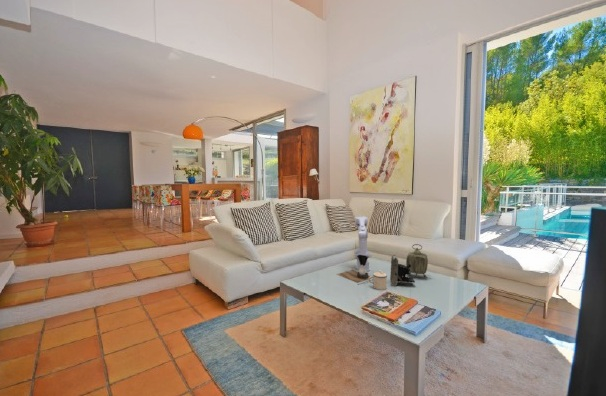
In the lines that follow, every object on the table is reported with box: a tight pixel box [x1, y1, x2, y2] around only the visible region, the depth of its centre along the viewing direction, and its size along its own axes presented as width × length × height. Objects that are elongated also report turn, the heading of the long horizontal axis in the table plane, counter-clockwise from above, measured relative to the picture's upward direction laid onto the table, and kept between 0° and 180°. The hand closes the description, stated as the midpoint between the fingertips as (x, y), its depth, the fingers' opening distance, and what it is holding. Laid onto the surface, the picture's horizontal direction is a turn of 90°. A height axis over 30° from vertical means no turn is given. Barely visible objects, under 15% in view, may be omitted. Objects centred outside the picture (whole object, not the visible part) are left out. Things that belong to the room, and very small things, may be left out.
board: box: [336, 269, 373, 286], centre depth 207 cm, size 18×22×2 cm
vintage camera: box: [389, 254, 416, 287], centre depth 193 cm, size 10×15×20 cm, turn 78°
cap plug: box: [358, 267, 367, 275], centre depth 205 cm, size 5×5×7 cm
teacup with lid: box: [368, 269, 388, 291], centre depth 189 cm, size 12×9×12 cm
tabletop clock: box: [405, 243, 429, 279], centre depth 207 cm, size 14×9×25 cm, turn 62°
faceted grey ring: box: [357, 271, 369, 279], centre depth 205 cm, size 8×8×2 cm
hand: (362, 265), depth 204 cm, fingers closed
